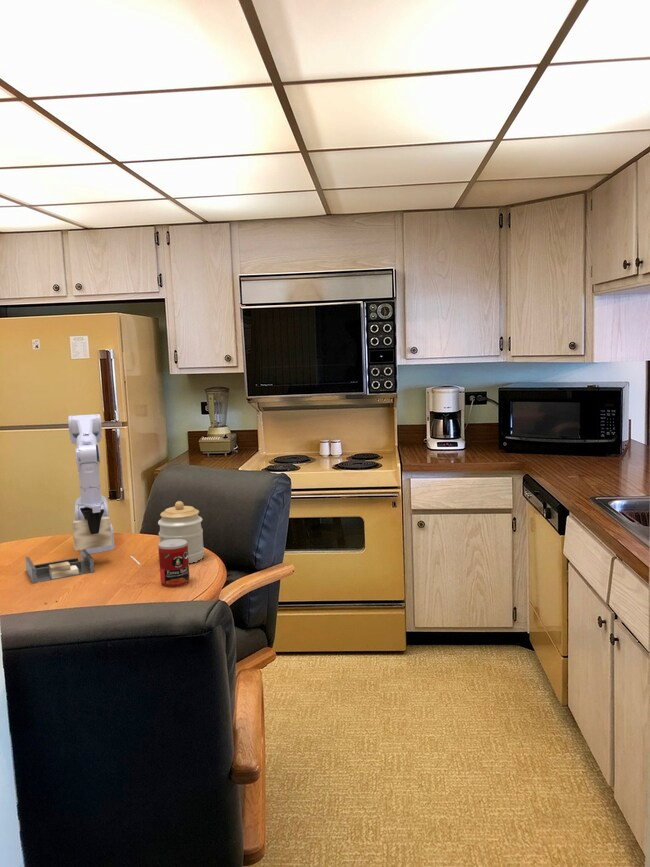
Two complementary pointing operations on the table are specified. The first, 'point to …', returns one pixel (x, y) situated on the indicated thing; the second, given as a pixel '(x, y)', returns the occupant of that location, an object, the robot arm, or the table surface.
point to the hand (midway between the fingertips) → (93, 532)
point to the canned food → (173, 562)
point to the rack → (42, 570)
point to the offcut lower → (65, 572)
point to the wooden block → (88, 540)
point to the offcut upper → (59, 567)
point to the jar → (183, 528)
